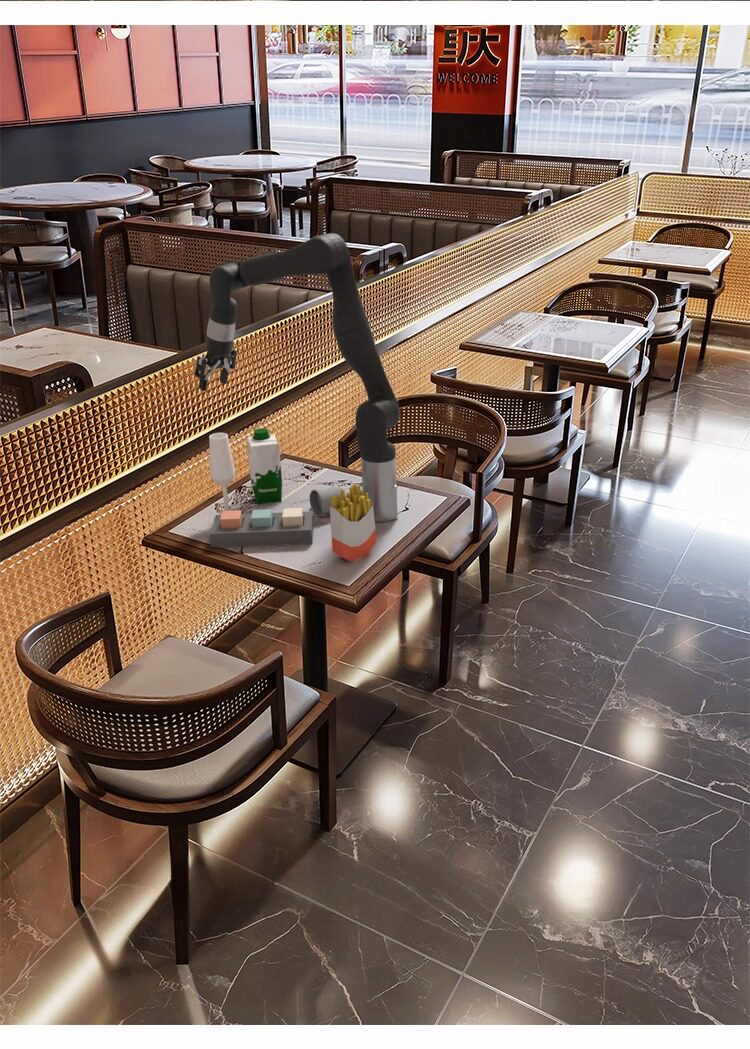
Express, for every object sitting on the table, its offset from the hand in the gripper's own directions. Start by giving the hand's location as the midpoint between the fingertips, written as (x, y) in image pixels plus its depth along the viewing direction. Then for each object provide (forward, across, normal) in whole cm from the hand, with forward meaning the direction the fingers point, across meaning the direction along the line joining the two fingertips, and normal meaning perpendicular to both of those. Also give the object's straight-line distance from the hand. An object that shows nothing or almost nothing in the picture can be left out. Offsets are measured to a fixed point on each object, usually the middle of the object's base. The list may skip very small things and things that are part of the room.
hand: (212, 386), depth 248 cm
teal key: (+15, -22, -41) cm, 49 cm away
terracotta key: (+18, -26, -35) cm, 47 cm away
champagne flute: (+23, -18, -27) cm, 40 cm away
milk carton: (+23, -3, -28) cm, 36 cm away
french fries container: (+10, -19, -68) cm, 71 cm away
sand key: (+13, -17, -47) cm, 52 cm away
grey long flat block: (+18, -22, -42) cm, 51 cm away
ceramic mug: (+17, -1, -47) cm, 50 cm away
